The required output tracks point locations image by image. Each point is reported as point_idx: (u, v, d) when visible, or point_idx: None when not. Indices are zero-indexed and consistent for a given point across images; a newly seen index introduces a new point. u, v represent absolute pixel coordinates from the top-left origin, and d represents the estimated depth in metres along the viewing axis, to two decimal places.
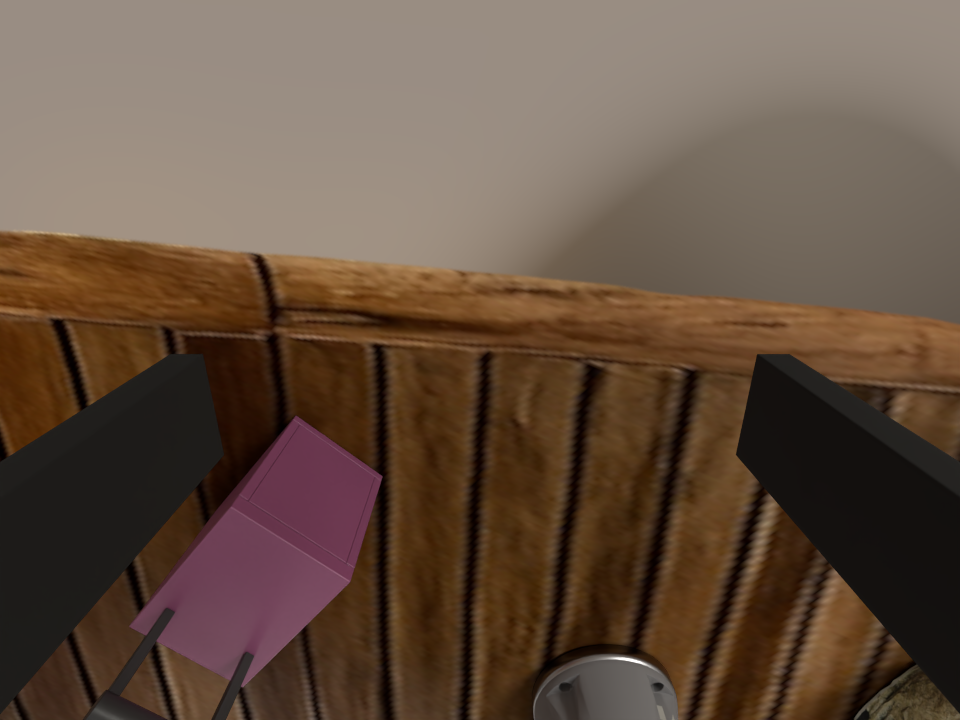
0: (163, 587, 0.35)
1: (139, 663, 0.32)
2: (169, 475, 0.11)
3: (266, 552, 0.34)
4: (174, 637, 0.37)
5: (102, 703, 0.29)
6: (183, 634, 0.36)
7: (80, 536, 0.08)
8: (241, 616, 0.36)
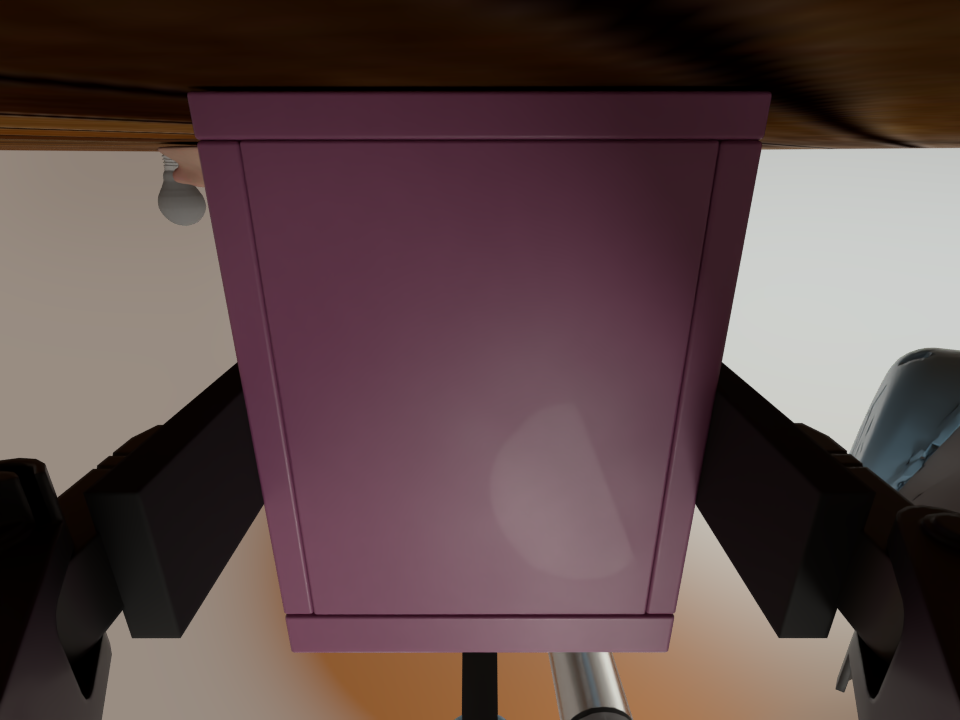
0: None
1: None
2: None
3: None
4: None
5: None
6: None
7: (225, 491, 0.09)
8: None
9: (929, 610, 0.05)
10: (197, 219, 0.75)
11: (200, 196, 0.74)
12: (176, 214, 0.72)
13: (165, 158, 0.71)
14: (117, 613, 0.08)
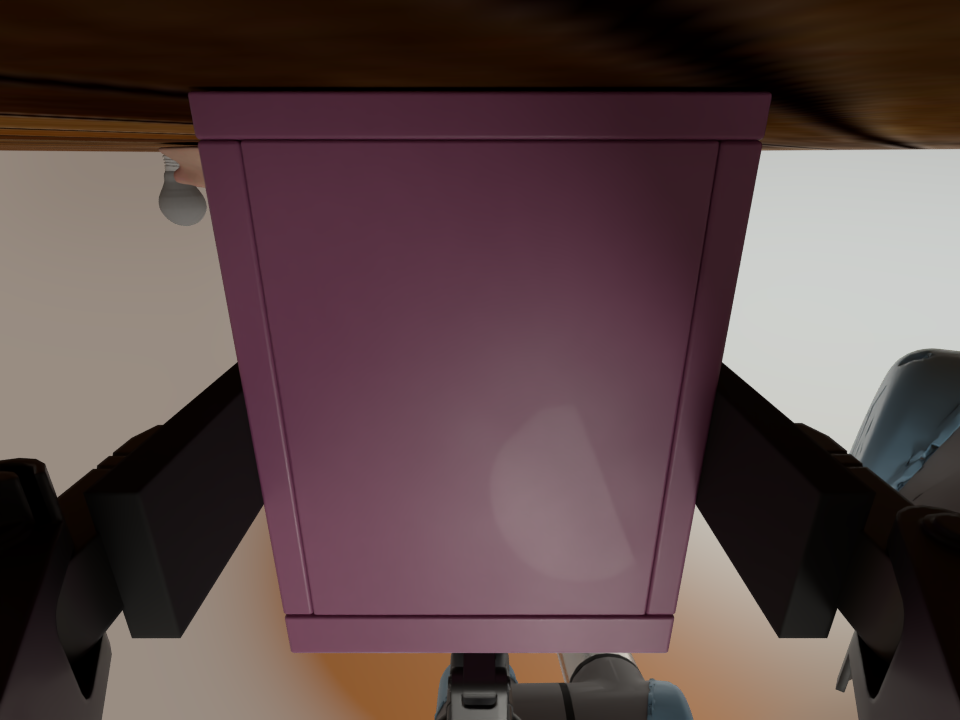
0: None
1: None
2: None
3: None
4: None
5: None
6: None
7: (225, 491, 0.09)
8: None
9: (929, 610, 0.05)
10: (198, 219, 0.75)
11: (201, 196, 0.74)
12: (176, 214, 0.72)
13: (166, 158, 0.71)
14: (117, 613, 0.08)
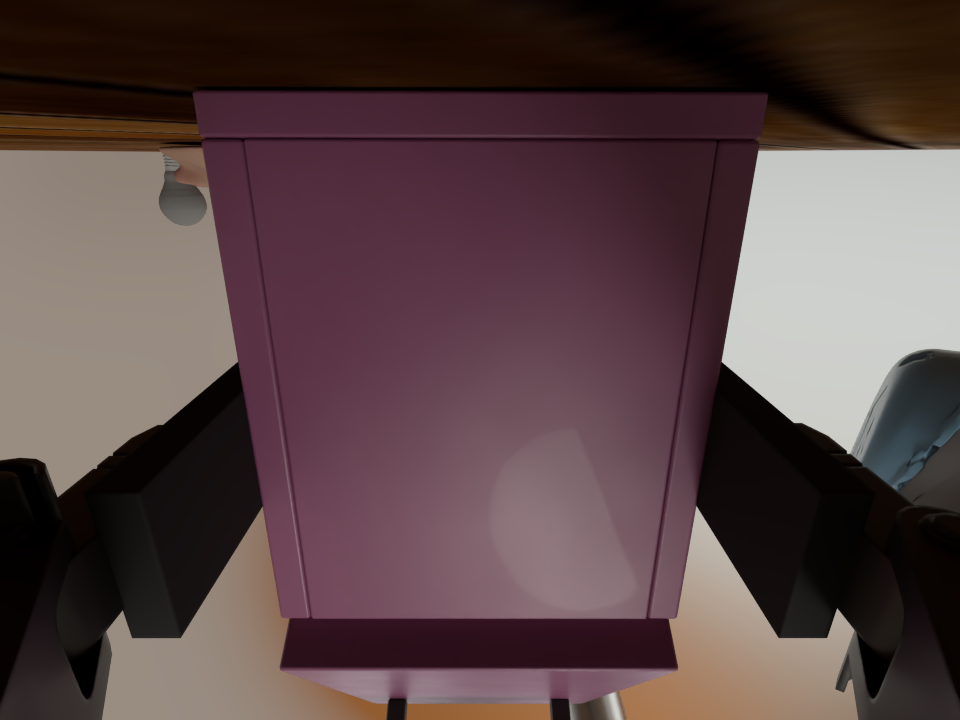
0: (354, 695, 0.19)
1: None
2: None
3: (441, 677, 0.13)
4: (438, 702, 0.22)
5: None
6: (445, 700, 0.21)
7: (225, 491, 0.09)
8: (501, 693, 0.18)
9: (928, 610, 0.05)
10: (198, 219, 0.75)
11: (201, 196, 0.74)
12: (177, 214, 0.72)
13: (166, 158, 0.71)
14: (117, 613, 0.08)
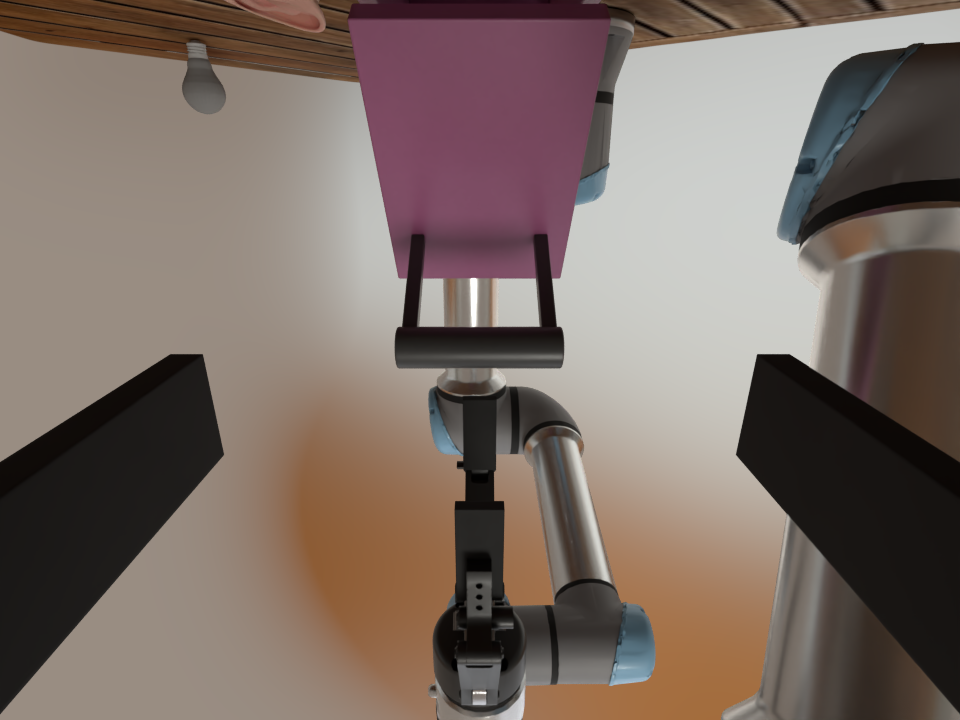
0: (387, 212, 0.26)
1: (417, 292, 0.25)
2: (169, 475, 0.11)
3: (453, 65, 0.19)
4: (448, 263, 0.29)
5: (400, 338, 0.22)
6: (454, 255, 0.28)
7: (80, 536, 0.08)
8: (496, 192, 0.24)
9: None
10: (218, 107, 0.81)
11: (221, 85, 0.80)
12: (199, 99, 0.78)
13: (189, 45, 0.77)
14: None
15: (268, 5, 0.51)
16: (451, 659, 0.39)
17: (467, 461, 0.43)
